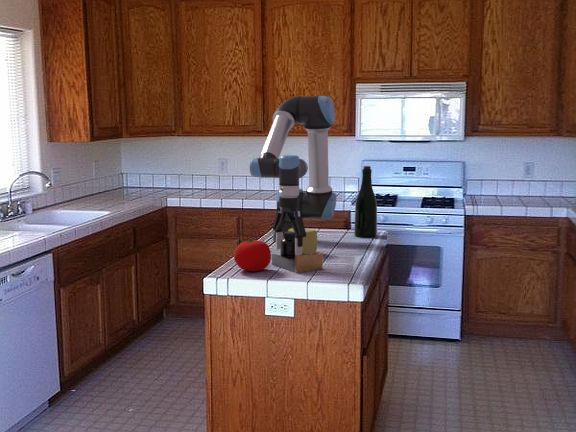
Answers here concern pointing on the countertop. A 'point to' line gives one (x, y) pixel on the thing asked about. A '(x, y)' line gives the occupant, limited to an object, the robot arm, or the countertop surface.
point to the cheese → (309, 241)
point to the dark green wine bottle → (366, 207)
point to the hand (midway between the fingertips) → (288, 252)
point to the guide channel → (299, 262)
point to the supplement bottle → (288, 245)
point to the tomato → (252, 255)
